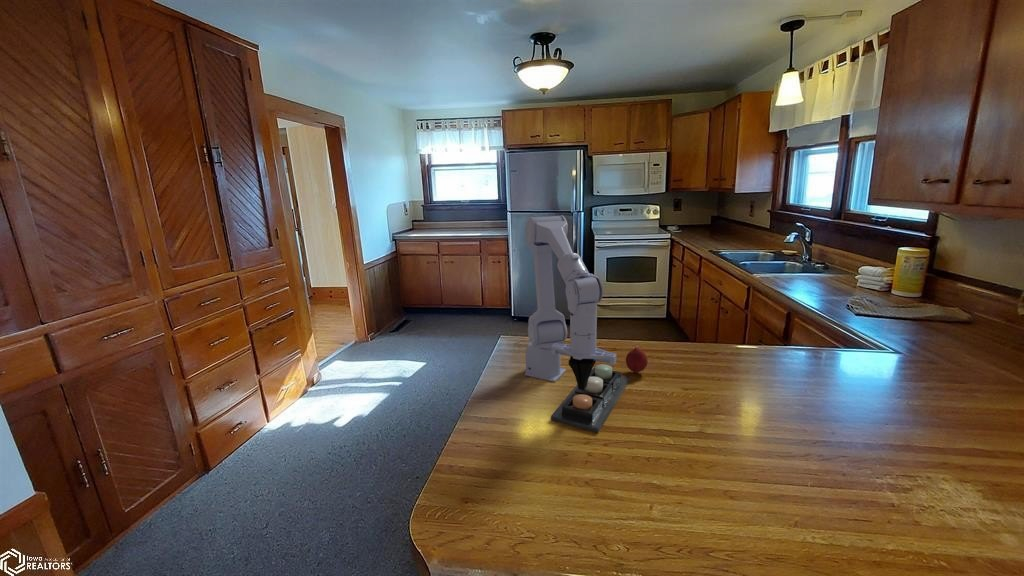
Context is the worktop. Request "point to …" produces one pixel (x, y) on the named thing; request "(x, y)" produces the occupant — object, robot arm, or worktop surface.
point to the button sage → (603, 371)
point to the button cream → (594, 385)
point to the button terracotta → (582, 402)
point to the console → (600, 404)
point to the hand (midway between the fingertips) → (582, 387)
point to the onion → (636, 360)
